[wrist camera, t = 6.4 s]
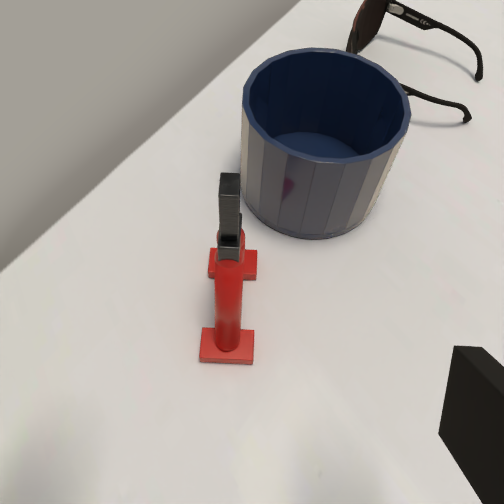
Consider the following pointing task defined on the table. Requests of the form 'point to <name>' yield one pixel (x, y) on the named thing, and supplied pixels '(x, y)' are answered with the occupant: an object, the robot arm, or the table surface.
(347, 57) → the pen cup
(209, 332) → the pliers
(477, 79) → the sunglasses
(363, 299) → the table surface
